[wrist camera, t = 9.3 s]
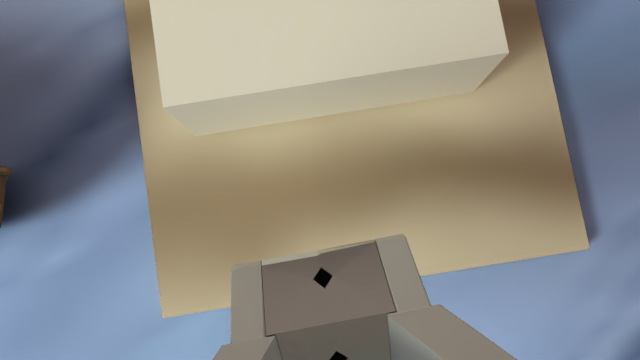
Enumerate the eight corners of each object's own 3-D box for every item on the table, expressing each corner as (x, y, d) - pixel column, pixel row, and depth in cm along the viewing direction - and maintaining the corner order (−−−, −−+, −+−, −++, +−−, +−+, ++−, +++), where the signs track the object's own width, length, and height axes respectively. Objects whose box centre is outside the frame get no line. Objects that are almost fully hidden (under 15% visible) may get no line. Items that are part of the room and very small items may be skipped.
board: (583, 248, 20) (590, 248, 20) (166, 316, 20) (162, 318, 20) (475, -247, 23) (478, -259, 22) (104, -191, 23) (99, -201, 22)
